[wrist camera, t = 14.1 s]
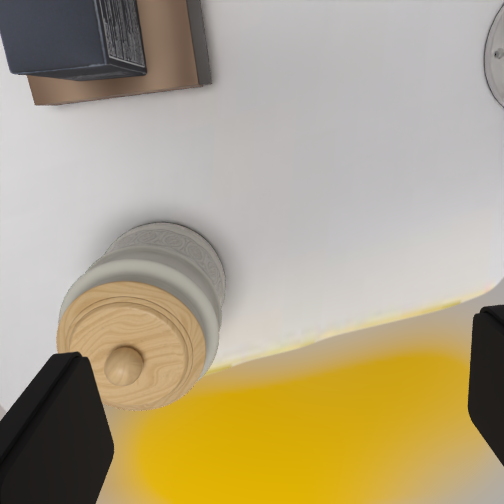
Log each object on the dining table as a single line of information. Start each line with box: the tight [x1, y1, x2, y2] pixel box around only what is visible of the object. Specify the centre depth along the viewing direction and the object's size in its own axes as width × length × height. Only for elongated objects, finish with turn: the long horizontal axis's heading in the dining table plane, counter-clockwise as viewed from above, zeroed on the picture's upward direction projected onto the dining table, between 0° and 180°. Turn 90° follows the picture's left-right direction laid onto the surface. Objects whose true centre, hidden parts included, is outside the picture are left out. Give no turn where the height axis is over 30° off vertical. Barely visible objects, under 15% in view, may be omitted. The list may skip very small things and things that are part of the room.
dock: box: [27, 0, 212, 105], centre depth 35 cm, size 15×13×4 cm
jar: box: [57, 223, 225, 411], centre depth 37 cm, size 13×13×18 cm
